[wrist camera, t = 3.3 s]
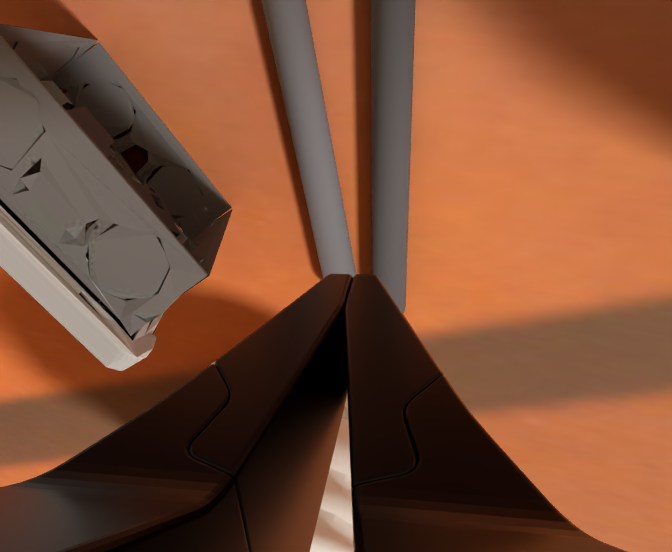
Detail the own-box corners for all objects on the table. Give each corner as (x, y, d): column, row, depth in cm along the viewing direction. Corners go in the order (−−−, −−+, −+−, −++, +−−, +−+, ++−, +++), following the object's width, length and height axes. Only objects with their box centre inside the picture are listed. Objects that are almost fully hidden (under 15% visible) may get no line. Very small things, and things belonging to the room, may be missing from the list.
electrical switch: (19, 78, 20) (-227, 133, 12) (113, -9, 18) (-95, -15, 10) (182, 263, 23) (81, 407, 15) (274, 203, 22) (216, 327, 13)
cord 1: (280, -159, 15) (268, -169, 14) (361, 286, 23) (357, 304, 22) (236, -147, 16) (220, -155, 14) (330, 288, 23) (325, 306, 22)
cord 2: (421, -169, 15) (420, -181, 14) (405, 310, 23) (404, 329, 22) (371, -165, 15) (367, -177, 14) (373, 309, 23) (371, 327, 22)
